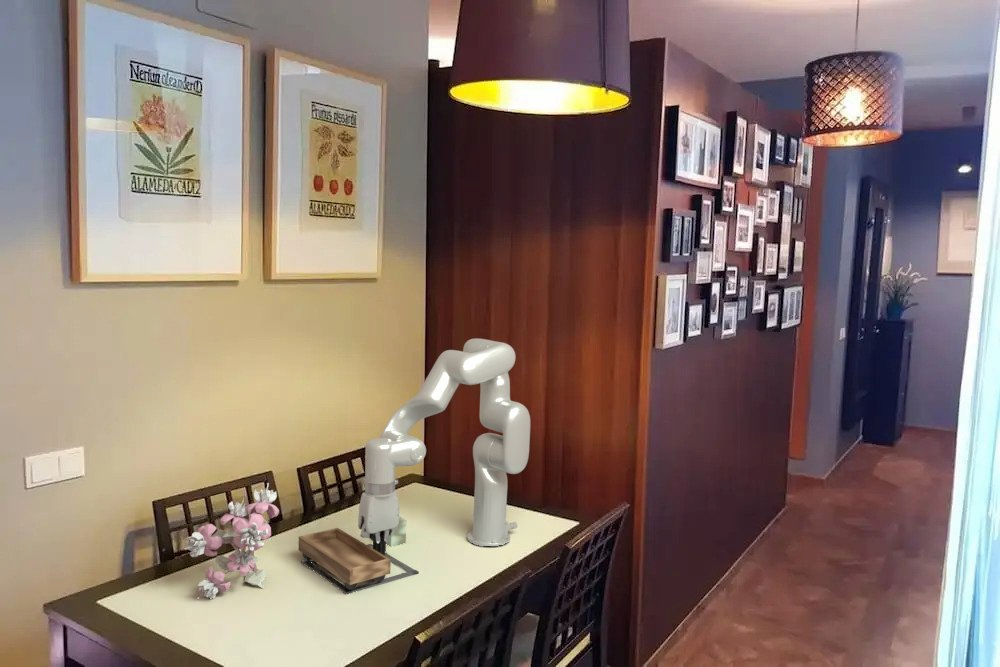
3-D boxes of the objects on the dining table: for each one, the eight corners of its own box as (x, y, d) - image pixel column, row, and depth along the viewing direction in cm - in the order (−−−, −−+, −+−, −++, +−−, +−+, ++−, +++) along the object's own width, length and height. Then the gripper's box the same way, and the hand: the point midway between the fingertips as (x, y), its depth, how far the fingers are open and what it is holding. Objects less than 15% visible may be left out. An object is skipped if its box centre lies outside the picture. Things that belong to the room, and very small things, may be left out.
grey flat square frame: (370, 545, 219) (370, 543, 219) (418, 573, 202) (418, 571, 202) (300, 562, 205) (300, 560, 205) (345, 594, 187) (346, 592, 187)
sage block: (395, 538, 226) (396, 514, 225) (405, 543, 222) (406, 519, 221) (381, 541, 222) (382, 518, 222) (391, 547, 219) (391, 523, 218)
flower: (189, 562, 198) (177, 491, 185) (279, 545, 206) (275, 476, 193) (191, 627, 183) (179, 554, 169) (289, 606, 190) (285, 535, 177)
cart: (337, 548, 214) (337, 527, 213) (390, 582, 194) (390, 559, 193) (298, 558, 206) (298, 536, 205) (349, 594, 186) (349, 570, 186)
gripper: (396, 478, 206) (395, 544, 209) (346, 488, 197) (346, 557, 199) (412, 485, 201) (411, 553, 203) (362, 496, 191) (361, 567, 193)
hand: (379, 555), depth 201 cm, fingers closed
